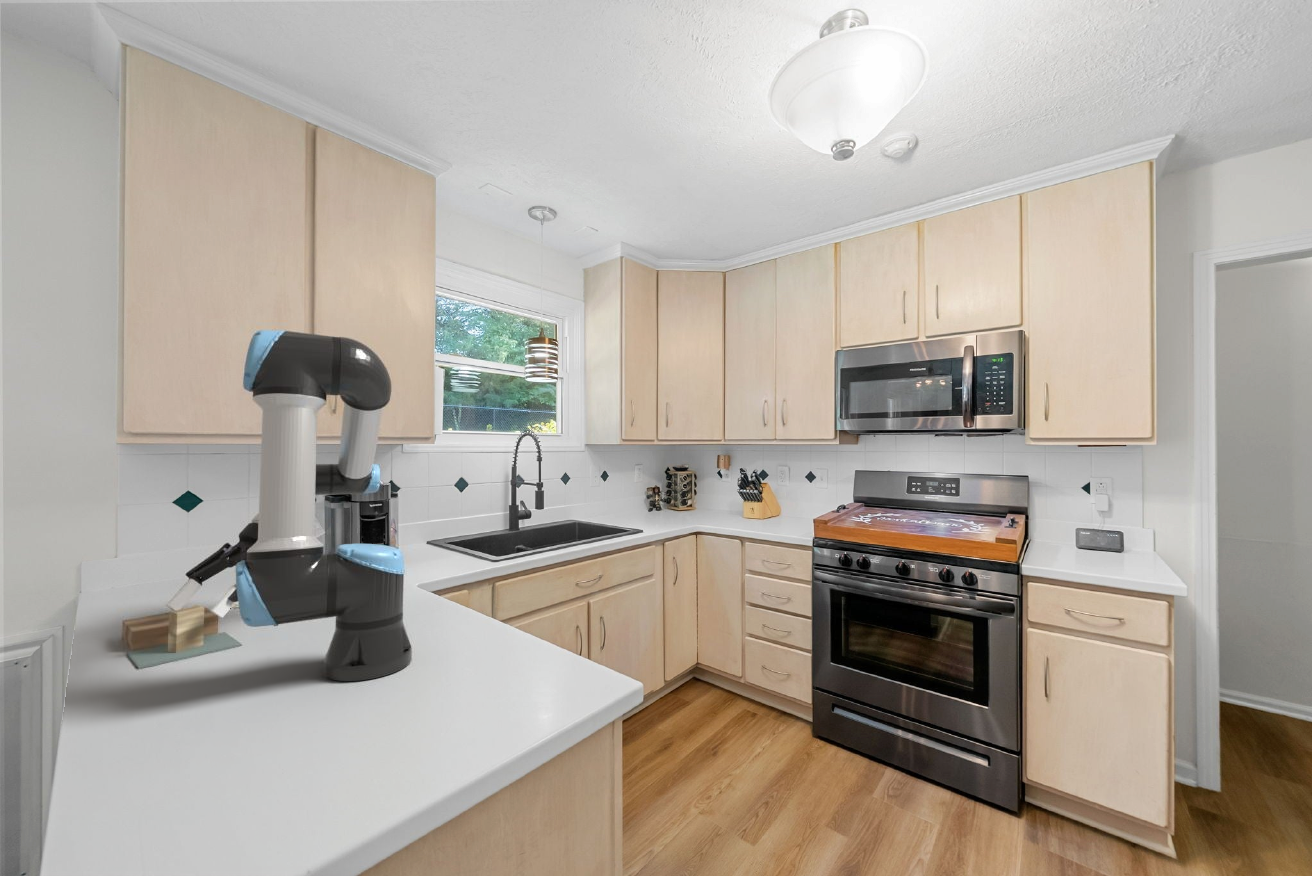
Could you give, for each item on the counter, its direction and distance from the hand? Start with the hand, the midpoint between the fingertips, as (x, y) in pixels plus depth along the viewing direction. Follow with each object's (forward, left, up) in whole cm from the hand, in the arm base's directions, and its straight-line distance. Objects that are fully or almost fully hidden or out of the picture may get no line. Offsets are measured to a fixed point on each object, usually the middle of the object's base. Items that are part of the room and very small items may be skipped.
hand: (193, 611), depth 114 cm
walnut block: (+12, +1, -7) cm, 14 cm away
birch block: (-1, +1, -7) cm, 7 cm away
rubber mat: (-1, +1, -7) cm, 8 cm away
